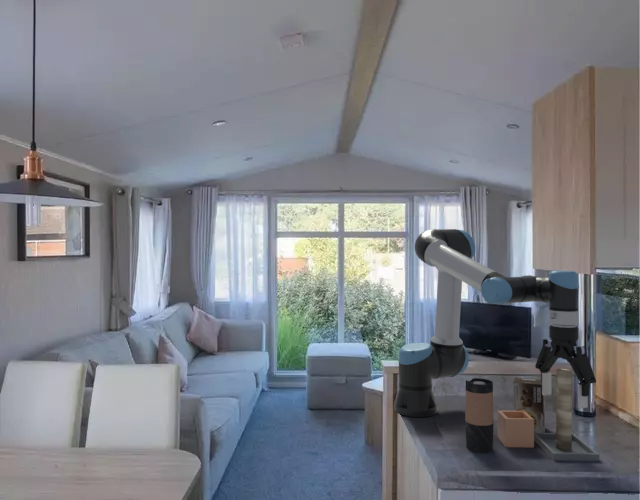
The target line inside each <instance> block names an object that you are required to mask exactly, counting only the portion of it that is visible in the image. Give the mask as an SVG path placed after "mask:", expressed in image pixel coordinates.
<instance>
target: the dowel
mask: <svg viewBox="0 0 640 500" xmlns="http://www.w3.org/2000/svg"><path fill="white" fill-rule="evenodd" d="M555 396H556V401H555V403H556V405H555V406H556V412H555V413H556V414H555V416H556V421H555V422H556V425H555V433H556V448H557V449H559V450H563V451H571V450H572V433H573V431H572V430H573V370H572V369H569V368H568V369H567V368H558V369H557V368H556V395H555Z"/></svg>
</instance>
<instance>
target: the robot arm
mask: <svg viewBox="0 0 640 500" xmlns="http://www.w3.org/2000/svg"><path fill="white" fill-rule="evenodd" d="M414 251H415V254H416V256H417V258H418V259H419V260H420V261H421V262H423V264H426V265H427V266H429V267H435V269H437V272H438V273H437V289H436V307H435V325H434V326H435V327H434V335H433V336H432V337H431V338H430V343H427V342H417V343H416V342H412V343H407V344H405V345H403V346H401V347H400V349H399V351H398V358H397V360H398V362H397V363H398V390H397V392H396V397H395V399H394V402H393V403H394V404H393V411H394V412H395V413H396V414H398V415H401V416H404V417H410V418H411V417H412V418H427V417H432V416H435V415H436V414H437V413H438V404H437V402H436V398H435V394H434V392H433V380H437V379H444V378H454V377H456V376H460V375H462V374H463V373H465V372H466V370H467V368H468V366H469V362H470V357H469V356H470V355H469V352H468V349H467V348H466V347H465V345H464V343H463V342H464V341H463V340H462V339H461V337H460V325H461V324H460V323H461V307H462V289H463V288H462V287H463V283H465V284H466V285H467V286H469V287H471V288H473V289H475V290H477V291H478V292H480V294H481V297H482V298H483V299H484V301H485V302H486V303H487V304H491V305H505V304H517V303H529V302H531V303H532V302H538V303H547V304H548V307H549V308H548V311H549V313H548V314H549V316H548V317H549V320H548V322H549V324H550V326H549V327H548V330H549V331H548V333H549V334H548V335H549V336H548V337H549V338H544V339H542V347H541V350H540V351H539V352H540V353H539V355H538V357H537V360H536V363H535V365H534V367H535V368H536V369H538V370H539V372H540V380H541V382H542V395H544V396H551V395H552V372H551V369H552V367H553V366H554V365H555V363H556V362H557V360H558V359H560V358H561V359H562V360H566V361H567V363H569V365H570V367H571V370H572V371H573V372H574V374H575V376H576V378H577V380H578V381H579V382H578V383H577V408H578V409H586V408H588V406H589V405H588V404H589V401H588V398H589V396H590V384H595V383H597V380H596V376H595V373H594V370H593V368H592V365H591V362H590V359H589V357H588V352H587V346H586V345H585V346H584V345H583V346H582V345H581V346H580V345H579V346H578V344H577V341H578V340H579V339H580V338H579V328H578V325H579V322H580V321H579V290H580V285H579V275H578V272H576V271H574V270H551V271H549V273H548V276H538V275H536V276H535V275H530V274H528V275H519V276H505V275H503V274H501V273H500V272H497V271H496V270H493V269H492V268H490V267H489V266H486V265H485V264H482V263H480V262H478V261H477V260H474V259H473V257H474V256H475V254H476V243H475V240H474V238H473V236H471V234H470V233H469V232H468V231H466V230H463V229H456V228H449V229H448V228H447V229H445V228H443V229H439V228H438V229H436V228H432V229H426V230H424V231H423V232H421V233H420V234H418V236H417V238H416V240H415V243H414Z"/></svg>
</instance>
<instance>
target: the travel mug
mask: <svg viewBox="0 0 640 500" xmlns="http://www.w3.org/2000/svg"><path fill="white" fill-rule="evenodd" d="M464 418H465V421H464V422H465V441H466V442H465V445H466V446H465V447H466V449H467V450H468V451H471V452H474V453H479V454H487V453H488V454H489V453H491V452H493V450H494V449H493V447H494V382H493V381H492V380H491V379H486V378H480V377H479V378H477V377H475V378H471V380H467V379H465V417H464Z"/></svg>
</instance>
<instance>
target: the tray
mask: <svg viewBox="0 0 640 500" xmlns="http://www.w3.org/2000/svg"><path fill="white" fill-rule="evenodd" d="M534 443H536V444H537V445H538V446H539V447H540V448H541V449H542V450H543V451H544V452H545V453H546V454H547V455H548V456H549V457H550V459H552V460H553V461H574V462H575V461H578V462H579V461H583V462H599V461H600V453H598V452H597V451H596V450H595V449H593V448H592V447H591V446H590V445H588V443H586V442H585V441H584V440H582V439H581V438H580V437H579V436H578V435H576V434H575V433H573V432H572V450H571V451H563V450H559V449H557V448H556V432H545V433H535V432H534Z"/></svg>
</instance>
